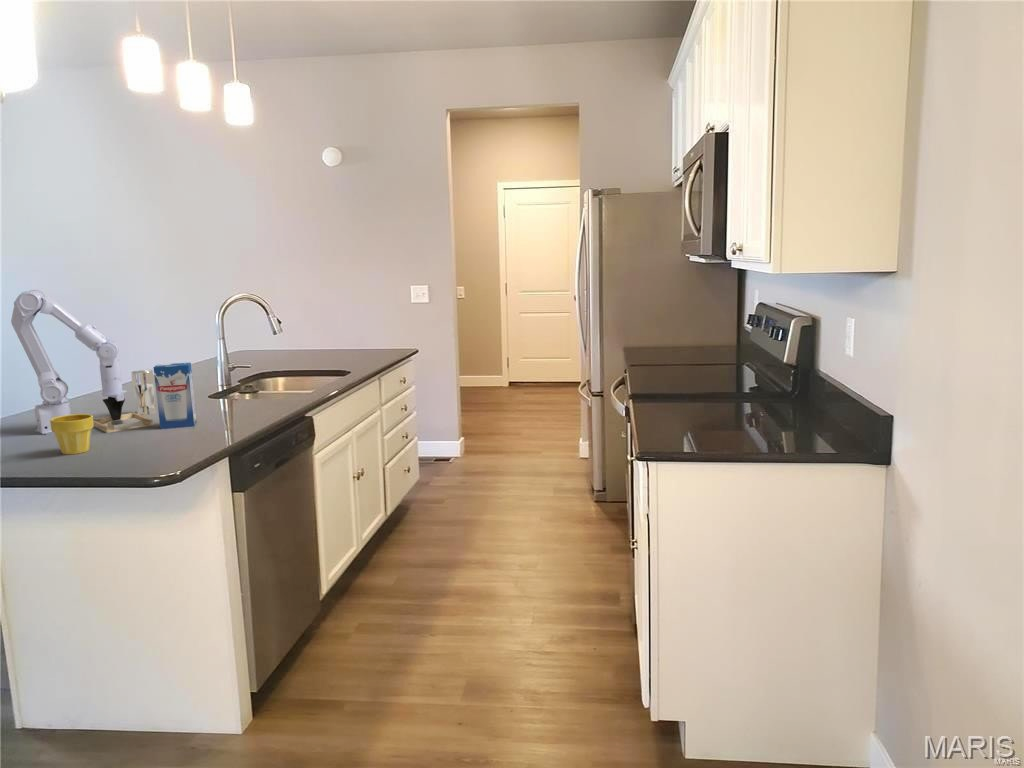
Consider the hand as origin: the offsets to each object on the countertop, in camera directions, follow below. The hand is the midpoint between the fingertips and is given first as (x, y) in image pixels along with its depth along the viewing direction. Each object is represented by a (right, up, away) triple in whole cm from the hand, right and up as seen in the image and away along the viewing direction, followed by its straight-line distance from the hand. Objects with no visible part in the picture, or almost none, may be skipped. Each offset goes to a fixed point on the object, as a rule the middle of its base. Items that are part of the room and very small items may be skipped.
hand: (116, 419), depth 244 cm
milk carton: (+23, -2, -7) cm, 24 cm away
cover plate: (+6, -2, -6) cm, 8 cm away
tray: (+4, -2, -3) cm, 5 cm away
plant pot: (+6, -7, -33) cm, 34 cm away
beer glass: (+3, +1, +14) cm, 14 cm away
